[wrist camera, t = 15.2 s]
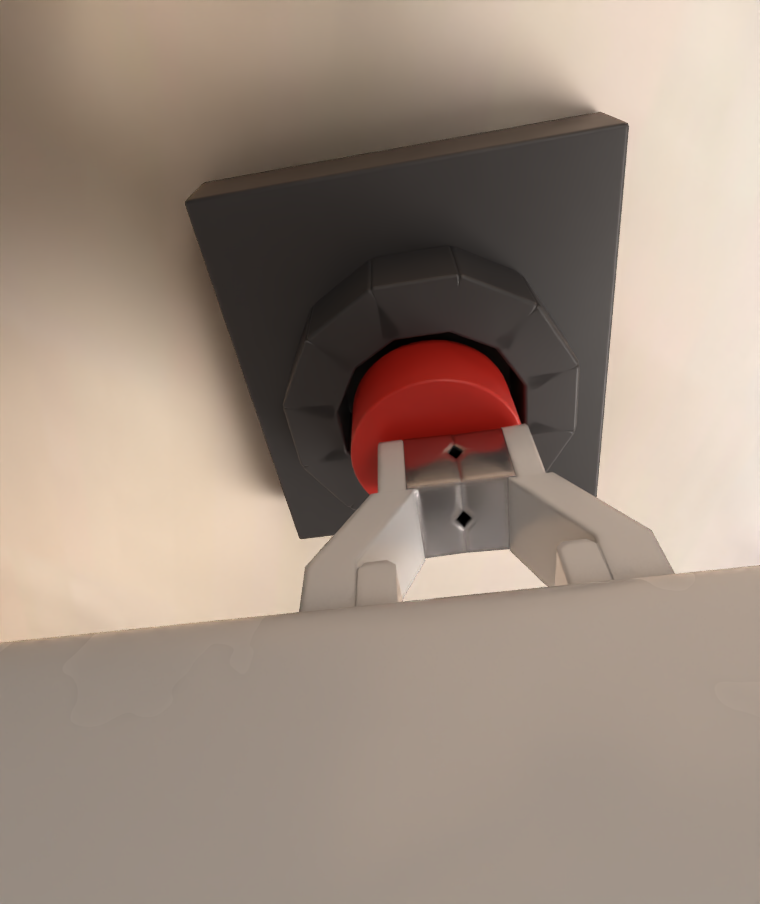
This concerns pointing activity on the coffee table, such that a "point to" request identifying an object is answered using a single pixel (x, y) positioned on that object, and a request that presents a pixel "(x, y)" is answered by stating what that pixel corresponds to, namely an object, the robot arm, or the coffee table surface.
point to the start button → (425, 400)
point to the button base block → (421, 287)
